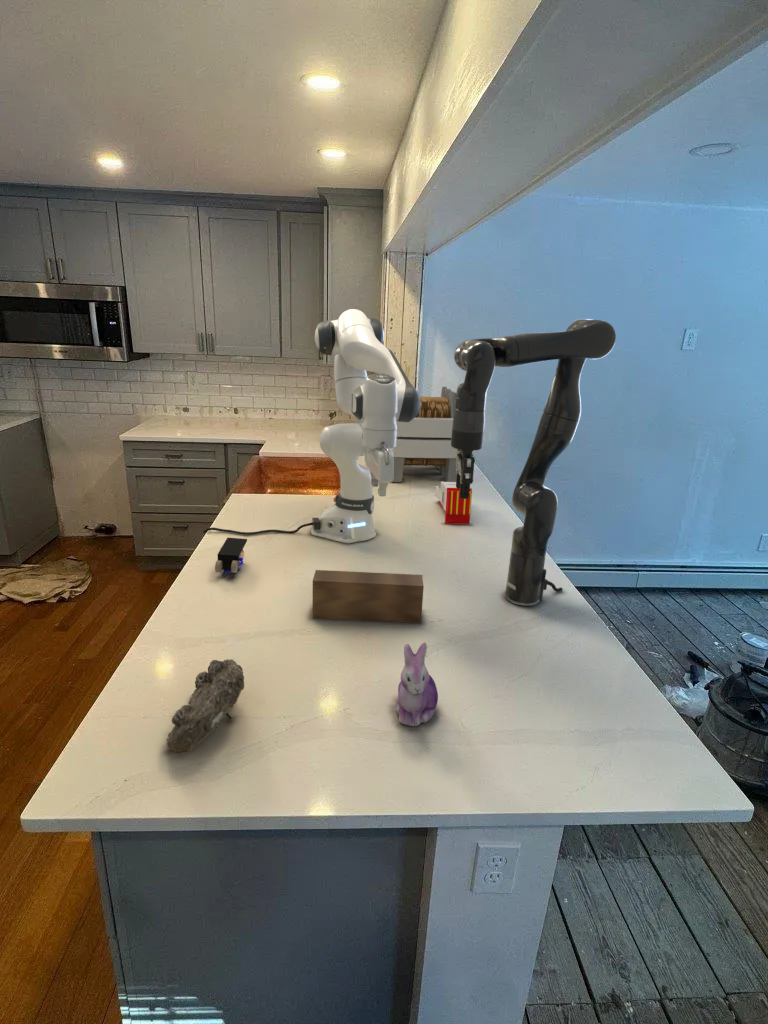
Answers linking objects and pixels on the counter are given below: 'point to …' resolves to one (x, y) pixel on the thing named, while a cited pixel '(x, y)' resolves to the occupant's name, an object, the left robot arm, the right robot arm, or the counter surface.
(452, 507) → the toy
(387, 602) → the box
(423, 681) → the figurine
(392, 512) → the counter surface
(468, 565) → the counter surface
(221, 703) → the fossil
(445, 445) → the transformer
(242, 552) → the black wheeled vehicle
